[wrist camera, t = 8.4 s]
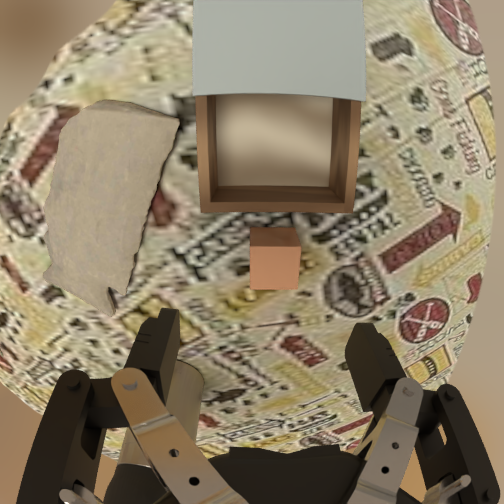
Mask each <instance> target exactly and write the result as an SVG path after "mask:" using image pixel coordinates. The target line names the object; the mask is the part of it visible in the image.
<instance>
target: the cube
mask: <svg viewBox="0 0 504 504" xmlns="http://www.w3.org/2000/svg"><path fill="white" fill-rule="evenodd" d="M300 257H301V244H300V241H299V238H298V235H297V232H296V229H295V228H291V227H250V289H297V288H298V278H299V268H300Z"/></svg>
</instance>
